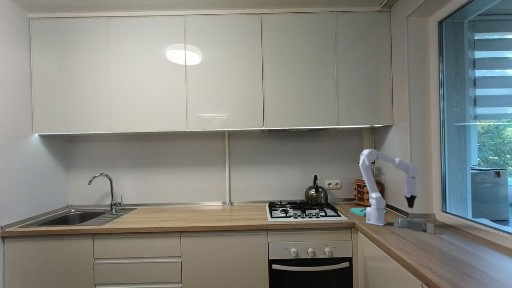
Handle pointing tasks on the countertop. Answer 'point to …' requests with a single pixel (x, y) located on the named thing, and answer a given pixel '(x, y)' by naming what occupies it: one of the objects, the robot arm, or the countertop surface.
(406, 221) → the pale blue stick
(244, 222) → the countertop surface
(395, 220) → the grey long flat piece
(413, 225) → the block
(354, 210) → the teal pixel art cutout
